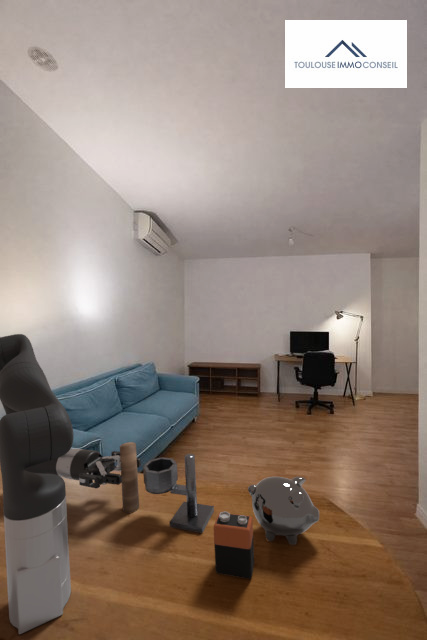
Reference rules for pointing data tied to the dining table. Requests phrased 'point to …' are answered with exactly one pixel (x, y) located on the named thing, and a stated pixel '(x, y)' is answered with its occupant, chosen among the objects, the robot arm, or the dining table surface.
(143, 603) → the dining table surface
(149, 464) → the cup bracket
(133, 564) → the dining table surface
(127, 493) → the rail post
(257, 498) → the piggy bank
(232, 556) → the battery
